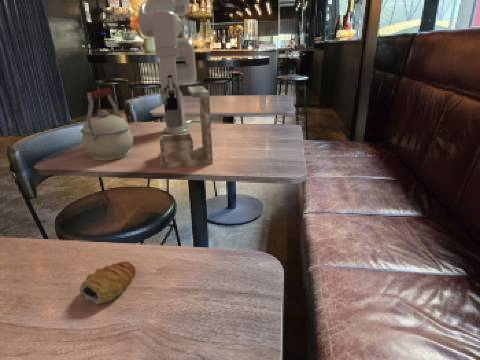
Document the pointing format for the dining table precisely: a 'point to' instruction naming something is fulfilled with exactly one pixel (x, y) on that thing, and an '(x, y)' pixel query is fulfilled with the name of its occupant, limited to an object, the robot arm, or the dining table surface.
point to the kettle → (105, 131)
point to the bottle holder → (189, 139)
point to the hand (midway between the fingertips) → (172, 107)
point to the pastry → (107, 282)
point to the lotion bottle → (173, 115)
